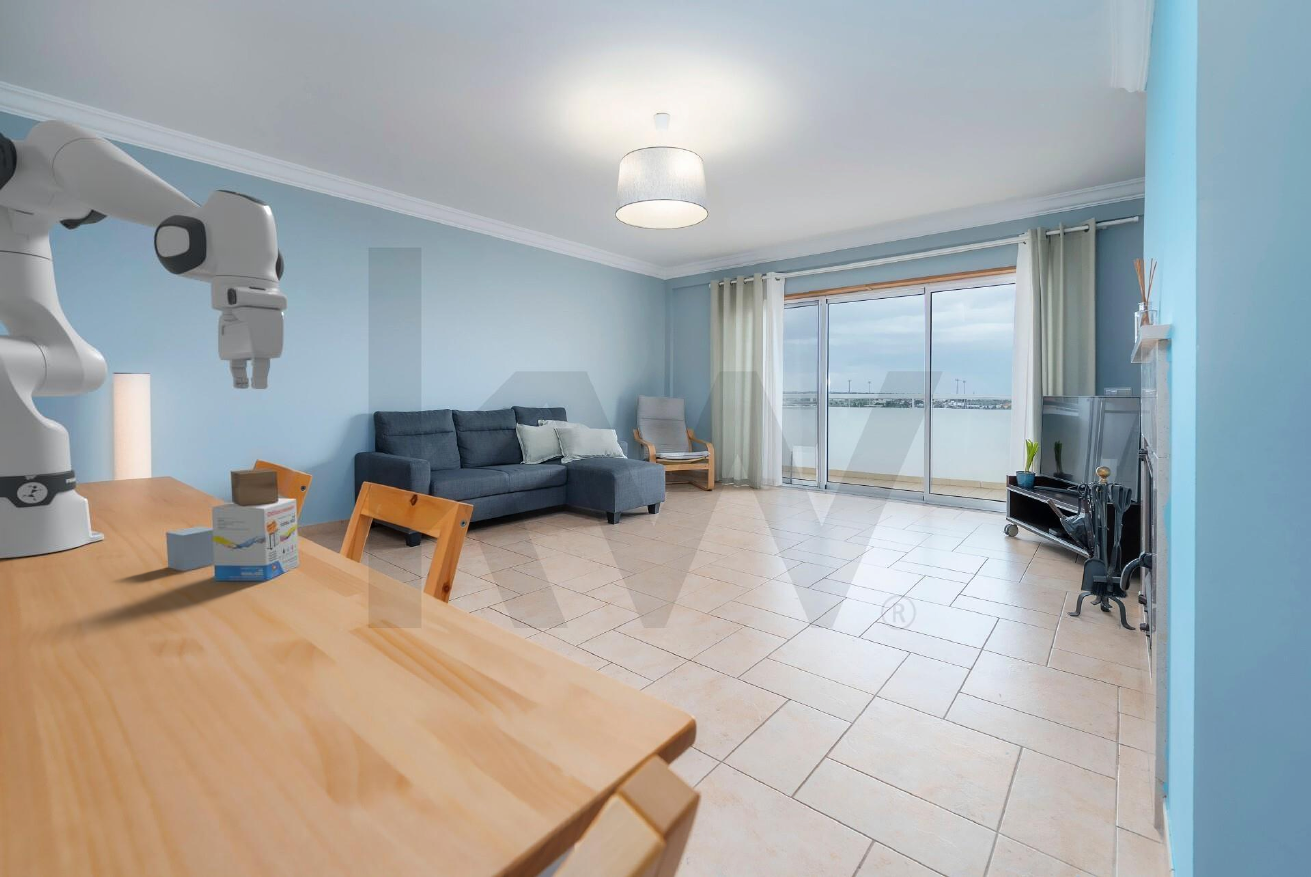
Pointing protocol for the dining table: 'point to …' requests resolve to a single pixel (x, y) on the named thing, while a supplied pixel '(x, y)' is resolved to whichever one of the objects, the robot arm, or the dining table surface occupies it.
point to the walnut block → (254, 486)
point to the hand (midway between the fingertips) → (250, 388)
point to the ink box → (255, 540)
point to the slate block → (190, 548)
